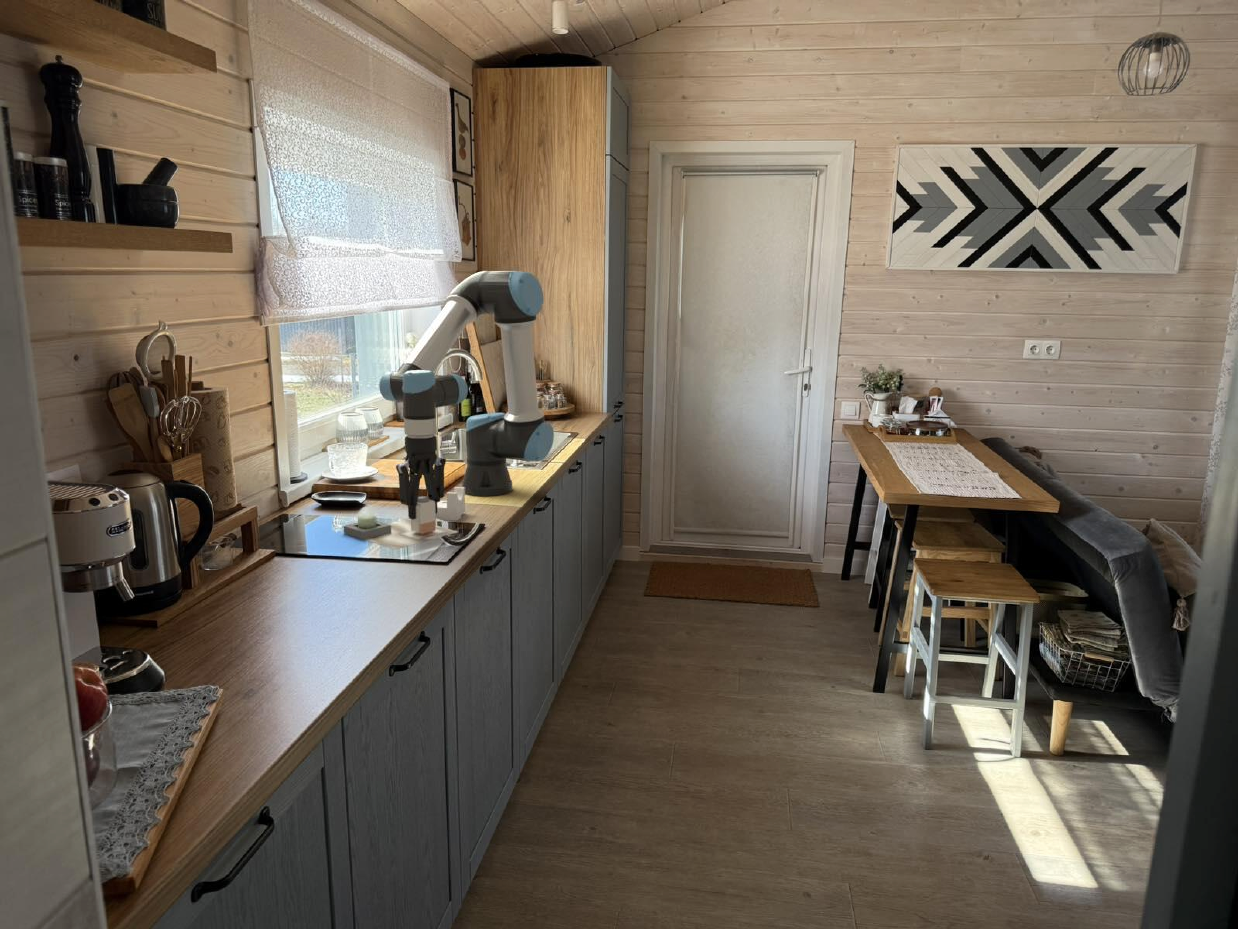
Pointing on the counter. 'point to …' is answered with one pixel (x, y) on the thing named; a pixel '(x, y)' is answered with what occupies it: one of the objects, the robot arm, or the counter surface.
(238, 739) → the counter surface
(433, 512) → the white tall block
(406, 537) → the cloth
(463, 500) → the bracket
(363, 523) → the button
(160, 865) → the counter surface
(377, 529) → the button housing
